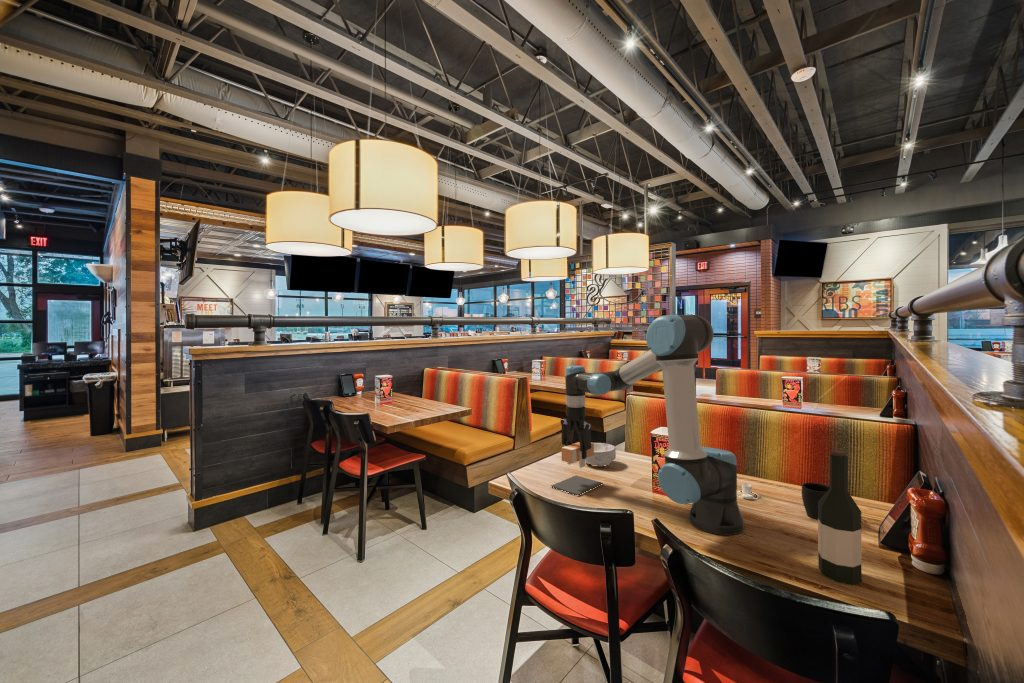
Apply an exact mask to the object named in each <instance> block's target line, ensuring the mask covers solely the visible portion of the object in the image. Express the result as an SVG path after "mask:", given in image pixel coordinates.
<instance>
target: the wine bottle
mask: <svg viewBox="0 0 1024 683" xmlns="http://www.w3.org/2000/svg"><path fill="white" fill-rule="evenodd" d="M831 451H832V452H831V453H829V473H830V474H829V481H830V482H829V485H830V486H829V487H830V489H829V490H828V491H827V492H826V493H825V494H824V496H823V497H822V498H821V499H820V500H819V501H818V520H817V524H818V525H817V527H818V528H817V529H818V530H817V537H818V538H817V542H818V544H817V545H818V548H817V550H818V553H817V554H818V557H817V560H818V561H817V562H818V564H817V565H818V570H819V571H820V574H821V575H822V576H823V577H825V578H827V579H829V580H831V581H834V582H836V583H840V584H845V585H852V586H854V585H856V584H859V583H862V577H863V576H862V511H861V509H860V508H859V506H858V504H857V503H856V501H855V500H854V498H853V497H852V495H851V494H850V492H849V471H848V470H849V466H848V464H849V458H848V457H849V456H848V455H846V452H845V451H843V450H837V449H836V450H835V449H834V450H831Z"/></svg>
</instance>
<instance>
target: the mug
mask: <svg viewBox="0 0 1024 683" xmlns="http://www.w3.org/2000/svg"><path fill="white" fill-rule="evenodd" d="M829 489H830V486H828V485H826V484H821V483H816V482H804V483H802V484H801V499H802V503H803V507H804V510H805V514H806V516H807V517H808V518H810V519H812V520H815V521H818V501H819V500H820V499H821V498H822V497H823V496H824V494H825V493H826V492H827V491H828V490H829Z"/></svg>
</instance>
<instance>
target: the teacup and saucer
mask: <svg viewBox="0 0 1024 683" xmlns="http://www.w3.org/2000/svg"><path fill="white" fill-rule="evenodd" d="M740 491H742V492H740ZM737 492H740V493H742V494H741V495H739V494H738V495H739V496H738V495H737V498H741V499H744V498H745V500H746V499H747V500H758V499H760V497H761V496H760V495H759V494H757V493H756V492H753V491H752V484H749V483H746V482H744V483H741V490H737ZM751 492H752V493H754V494H756V495H757V498H755V497H754V494H752V493H751ZM756 495H755V496H756Z"/></svg>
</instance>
